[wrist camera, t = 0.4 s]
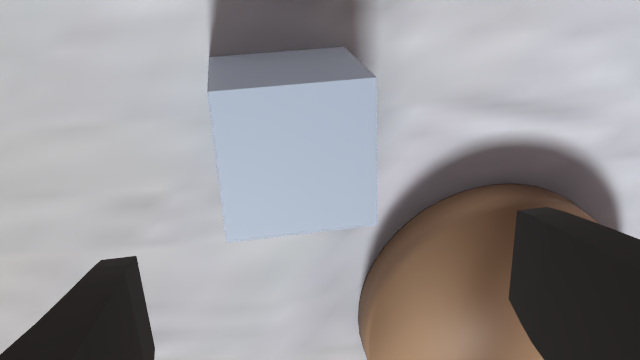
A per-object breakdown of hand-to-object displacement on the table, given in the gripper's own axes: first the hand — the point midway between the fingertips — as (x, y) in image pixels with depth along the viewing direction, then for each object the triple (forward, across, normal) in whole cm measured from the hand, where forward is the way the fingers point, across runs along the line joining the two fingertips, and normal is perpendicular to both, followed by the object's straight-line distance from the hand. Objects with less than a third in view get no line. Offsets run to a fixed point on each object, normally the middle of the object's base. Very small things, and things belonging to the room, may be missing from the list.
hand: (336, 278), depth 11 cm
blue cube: (+10, 0, 0) cm, 10 cm away
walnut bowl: (+10, -8, +9) cm, 16 cm away
